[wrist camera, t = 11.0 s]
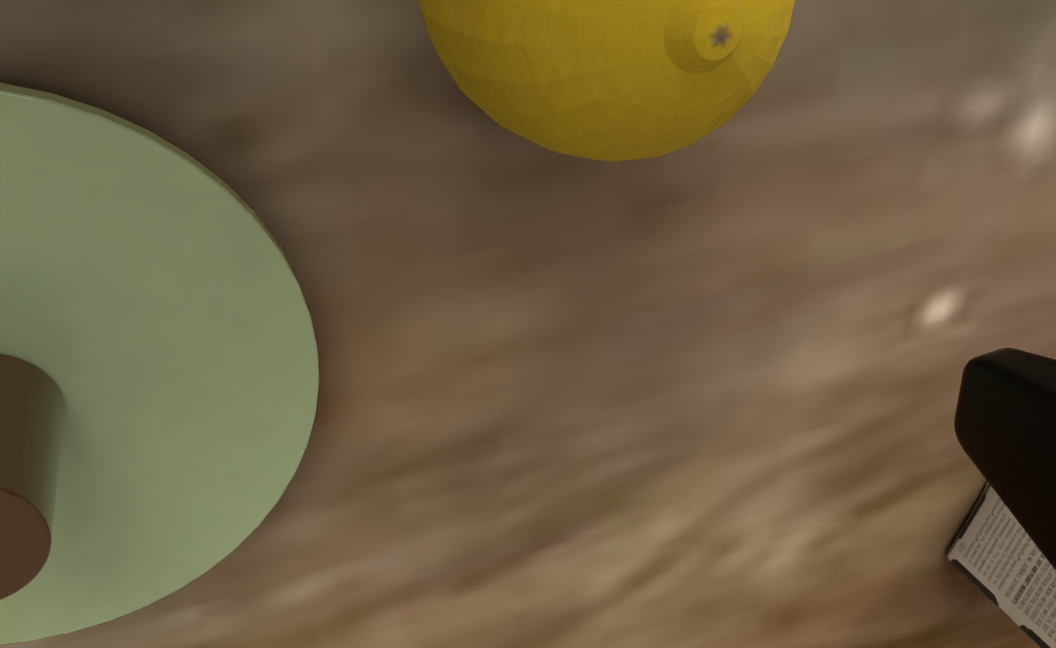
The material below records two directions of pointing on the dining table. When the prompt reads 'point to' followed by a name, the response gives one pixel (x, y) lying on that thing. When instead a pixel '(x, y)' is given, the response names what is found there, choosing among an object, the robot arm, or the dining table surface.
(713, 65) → the lemon
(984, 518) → the candy bar box
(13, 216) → the crock lid
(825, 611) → the dining table surface
